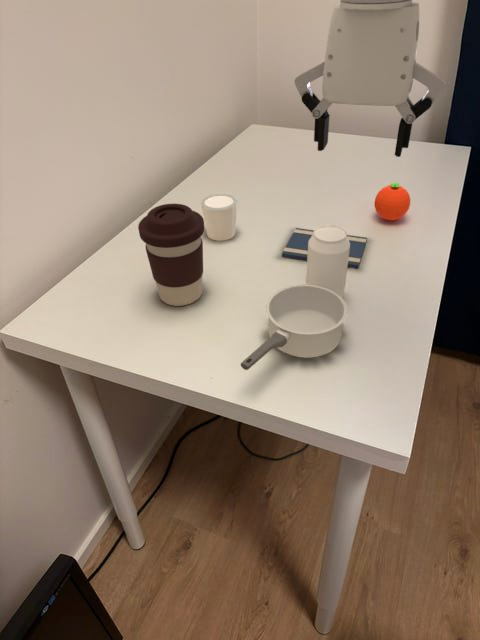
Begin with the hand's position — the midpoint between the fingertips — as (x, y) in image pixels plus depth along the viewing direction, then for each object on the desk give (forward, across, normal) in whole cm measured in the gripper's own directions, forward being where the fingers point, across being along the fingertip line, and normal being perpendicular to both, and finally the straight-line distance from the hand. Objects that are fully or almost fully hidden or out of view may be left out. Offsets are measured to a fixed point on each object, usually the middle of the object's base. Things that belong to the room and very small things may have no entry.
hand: (359, 150), depth 62 cm
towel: (+25, +6, -16) cm, 30 cm away
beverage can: (+25, +3, -1) cm, 25 cm away
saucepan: (+25, +5, +13) cm, 29 cm away
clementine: (+25, -4, -32) cm, 41 cm away
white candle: (+25, +27, -16) cm, 40 cm away
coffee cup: (+25, +26, +5) cm, 37 cm away
